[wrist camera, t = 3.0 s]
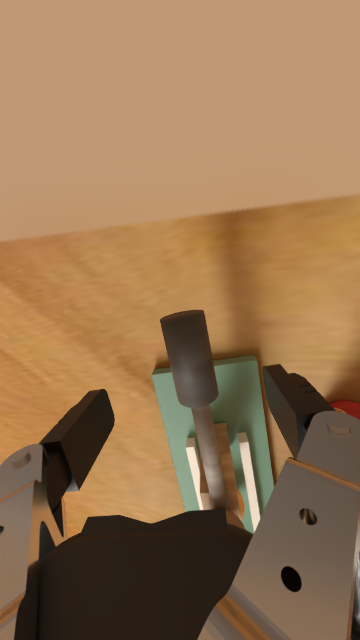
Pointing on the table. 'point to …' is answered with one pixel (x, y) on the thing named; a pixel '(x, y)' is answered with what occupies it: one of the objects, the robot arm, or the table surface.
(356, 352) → the table surface
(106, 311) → the table surface
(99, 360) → the table surface
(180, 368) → the rod
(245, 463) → the pitch
